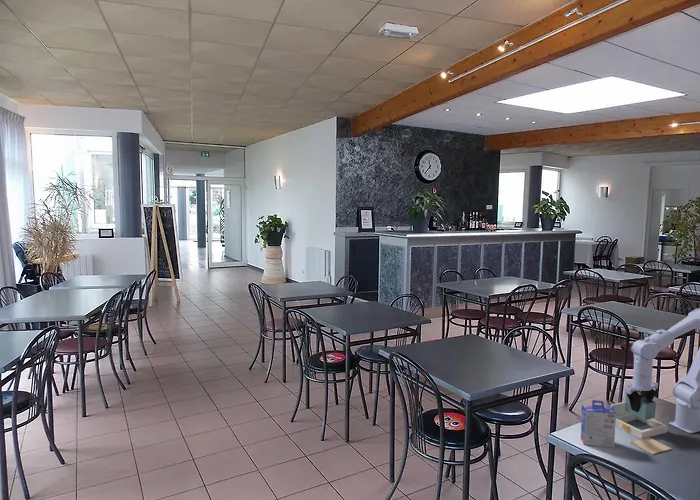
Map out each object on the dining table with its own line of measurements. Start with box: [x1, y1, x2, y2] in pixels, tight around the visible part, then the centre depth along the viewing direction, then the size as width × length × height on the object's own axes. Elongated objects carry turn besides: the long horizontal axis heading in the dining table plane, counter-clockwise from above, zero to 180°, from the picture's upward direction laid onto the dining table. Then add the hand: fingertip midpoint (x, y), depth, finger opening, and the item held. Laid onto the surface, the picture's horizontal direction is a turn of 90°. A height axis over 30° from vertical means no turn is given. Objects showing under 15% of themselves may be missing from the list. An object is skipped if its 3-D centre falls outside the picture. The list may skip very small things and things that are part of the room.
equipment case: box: [615, 413, 668, 440], centre depth 172 cm, size 13×12×2 cm
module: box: [624, 394, 657, 420], centre depth 171 cm, size 5×8×6 cm, turn 21°
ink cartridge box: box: [580, 399, 616, 448], centre depth 161 cm, size 10×6×14 cm, turn 78°
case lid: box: [609, 401, 629, 416], centre depth 177 cm, size 13×2×7 cm, turn 111°
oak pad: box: [630, 437, 673, 455], centre depth 159 cm, size 9×8×1 cm
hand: (640, 409), depth 171 cm, fingers closed on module, 5 cm apart
